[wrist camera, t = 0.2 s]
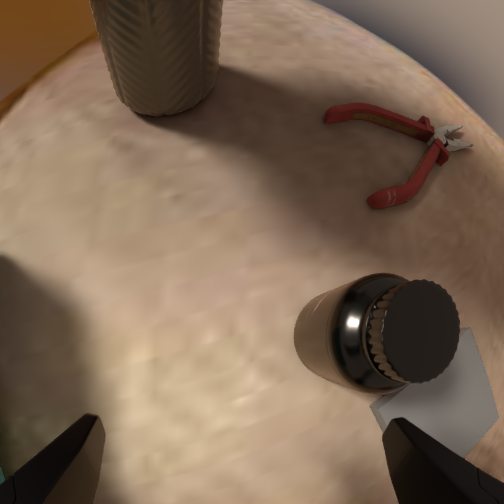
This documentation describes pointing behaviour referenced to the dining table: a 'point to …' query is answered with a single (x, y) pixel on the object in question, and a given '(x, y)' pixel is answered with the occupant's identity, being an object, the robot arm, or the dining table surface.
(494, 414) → the grey flat square slab
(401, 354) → the supplement bottle
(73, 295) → the dining table surface
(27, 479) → the robot arm
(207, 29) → the lamp
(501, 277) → the dining table surface
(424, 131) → the pliers
